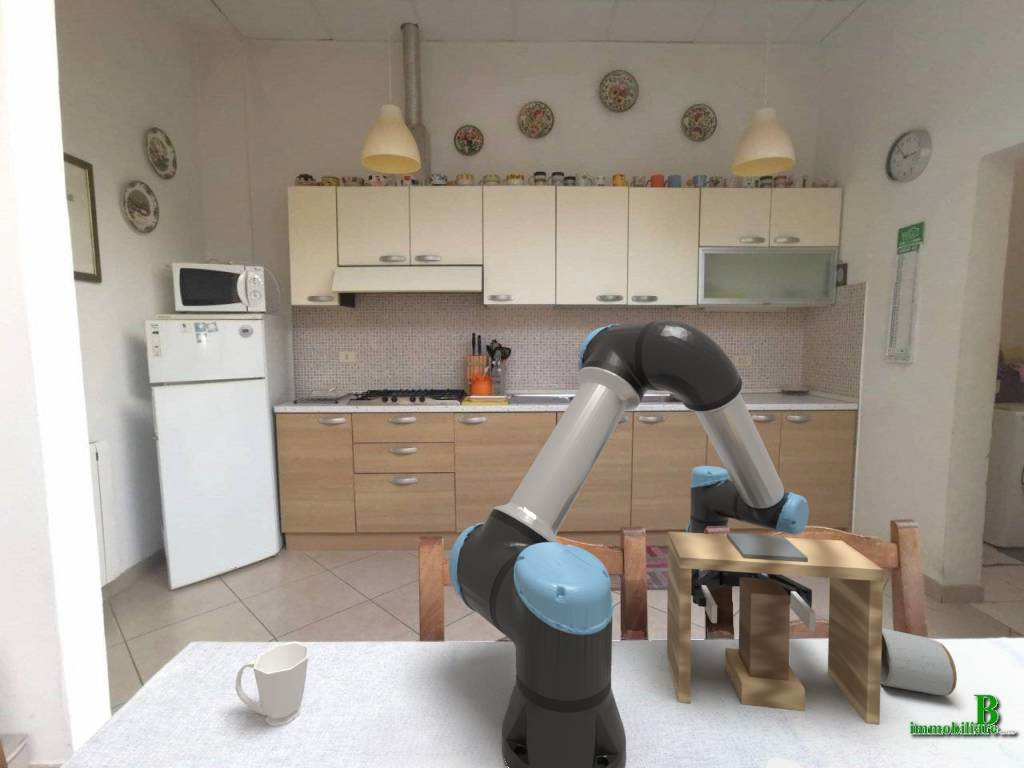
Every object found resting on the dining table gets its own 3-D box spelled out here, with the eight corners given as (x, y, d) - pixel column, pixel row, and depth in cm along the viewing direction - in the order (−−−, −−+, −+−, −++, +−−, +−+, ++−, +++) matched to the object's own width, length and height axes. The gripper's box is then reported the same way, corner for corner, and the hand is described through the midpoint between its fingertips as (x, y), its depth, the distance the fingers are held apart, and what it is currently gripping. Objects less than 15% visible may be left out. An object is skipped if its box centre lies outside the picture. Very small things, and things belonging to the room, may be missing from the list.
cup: (295, 736, 59) (294, 674, 58) (220, 732, 59) (218, 671, 59) (321, 696, 66) (320, 641, 65) (253, 694, 66) (252, 639, 66)
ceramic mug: (961, 710, 62) (962, 654, 62) (888, 697, 65) (889, 643, 65) (919, 663, 73) (920, 615, 72) (857, 653, 75) (858, 607, 75)
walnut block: (749, 676, 65) (751, 593, 64) (738, 654, 70) (739, 577, 69) (788, 680, 64) (790, 596, 64) (774, 658, 69) (775, 579, 69)
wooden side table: (678, 702, 64) (680, 553, 63) (667, 657, 74) (668, 527, 73) (879, 724, 60) (883, 565, 59) (838, 673, 70) (841, 536, 69)
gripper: (790, 582, 88) (854, 650, 67) (654, 573, 92) (674, 635, 71) (791, 543, 87) (856, 599, 66) (655, 536, 91) (675, 587, 70)
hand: (762, 618), depth 68 cm, fingers open, 13 cm apart
